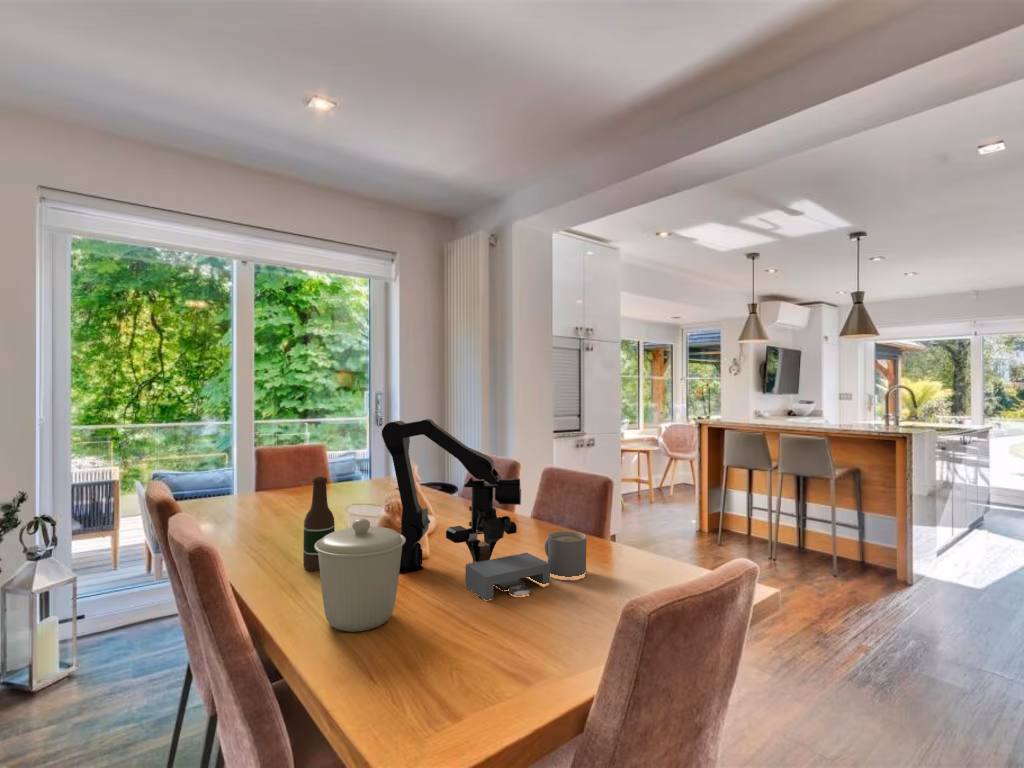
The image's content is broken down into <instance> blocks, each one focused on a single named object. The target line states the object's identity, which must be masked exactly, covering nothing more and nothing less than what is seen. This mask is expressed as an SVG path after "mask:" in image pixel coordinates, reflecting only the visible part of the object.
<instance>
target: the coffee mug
mask: <svg viewBox="0 0 1024 768" xmlns="http://www.w3.org/2000/svg"><path fill="white" fill-rule="evenodd" d="M544 552H545V554H546V557H547V562H548V563H550V573H551V574H554V575H558V576H565V577H572V576H579V575H582V574H584V573H585V572H586V573H587V535H585V533H582V532H578V531H573V530H557V531H552V532H549V534H548V535H547V537H546V539H545V541H544Z"/></svg>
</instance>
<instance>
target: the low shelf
mask: <svg viewBox="0 0 1024 768" xmlns="http://www.w3.org/2000/svg"><path fill="white" fill-rule="evenodd" d="M464 576H465V584H464V585H465V586H466V587H467V588H469V589H470V590H472V591H473V592H474V593H476V594H477V595H479V596H480V597H481V598H483V599H485V600H489V599H493V600H494V586H493V585H494V584H497V583H502V582H506V581H511V580H515V579H519V580H521V579H524V578H525V577H530V578H531V579H533V580H535V581H537V582H539V583H542V584H546V583H549V582H550V581H551V580H550V579H551V577H550V563H548V561H546V560H545V559H544V560H543V559H541V558H539V557H537V556H535V555H533V554H531V553H529V552H524V553H518V554H513V555H507V556H503V557H496V558H492V559H491V558H490V560H486V561H481V562H476V563H473V562H472V563H466V564H465V575H464ZM550 583H551V582H550ZM466 587H465V588H466ZM467 588H466V589H467ZM469 589H468V590H469ZM470 590H469V591H470ZM473 592H472V593H473ZM474 593H473V594H474ZM476 594H475V595H476ZM477 595H476V596H477ZM479 596H478V597H479ZM480 597H479V598H480ZM481 598H480V599H481ZM483 599H482V600H483Z"/></svg>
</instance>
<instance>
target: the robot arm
mask: <svg viewBox="0 0 1024 768" xmlns="http://www.w3.org/2000/svg"><path fill="white" fill-rule="evenodd" d="M422 435H423V436H425V437H426V438H428V439H429V440H430V441H432V442H433V443H435V444H436V445H438V446H439V447H441V448H442V449H443V450H445V451H446V452H447V453H449V454H450V455H452V456H453V457H454V458H456V459H457V460H458V461H459V462H460V463H461V464H462V466H463V467H464V468H465V470H466V471H468V473H469V474H470V475H471V477H470V478H469V479H468V481H466V482H465V483H464V485H463V487H464V488H471V506H468V507H469V509H468V510H469V511H470V512H471V515H470V516H471V518H470V519H471V520H470V521H469V522H468V528H465V527H464V526H461V525H454V526H450V527H447V529H446V531H445V538H446V539H447V540H449V541H451V542H452V543H454V544H460V543H465V544H466V546H467V547H468V548H467V549H468V550H469V552H470V555H471V557H472V561H473V560H474V563H476V562H478V544H479V543H480V541H481V540H480V539H478V535H483V540H484V542H486V543H488V544H490V559H491V557H492V555H493V552H494V549H495V546H496V545H497V542H498V541H500V540H501V539H503V538H504V536H505V535H504V534H507V535H512V534H516V533H517V532H518V531H517V529H518V528H517V527H518V526H517V523H516V522H515V521H513V520H511V518H510V516H508V515H506V516H505V515H504V516H502V517H501V516H499V517H498V516H497V511H496V510H497V509H496V508H495V507H494V499H495V501H496V502H497V503H498V504H499V505H512V506H513V505H517V506H518V505H519V506H520V505H521V504H522V489H521V478H519V477H517V478H516V477H515V478H502V477H501V475H500V474H499V472H498V471H497V470H496V469H495V463H494V462H495V461H494V459H493V458H492V457H490V456H488V455H487V454H485V453H482V452H481V451H479V450H475V449H473V448H471V447H468V446H467V445H466V444H464V443H463V442H462V441H460V440H459V439H457V438H456V437H454V436H453V435H452V434H450V433H449V432H448V431H446V430H445V429H443V428H442V427H441V426H439V425H438V424H436V423H435V421H434V420H432V419H431V418H426V419H422V420H420V421H419V420H418V421H412V422H405V421H402V420H395V421H391V422H390V421H389V422H388V423H386V424H385V425H384V426H383V428H382V429H381V437H382V440H383V443H384V445H385V447H386V449H387V451H388V452H389V455H390V456H391V457H392V463H393V467H394V473H395V477H396V483H397V487H398V493H399V497H400V502H401V507H402V512H401V518H400V519H401V520H400V524H401V525H400V527H401V530H400V531H401V533H400V534H401V535H403V536H404V537H405V539H406V541H405V544H404V545H403V546H402V553H401V562H400V570H399V574H402V573H409V572H413V571H420V570H423V569H424V566H423V549H422V544H421V543H419V542H420V541H421V539H422V538H423V537H424V536H425V534H426V533H427V532H428V530H429V525H430V523H431V520H430V519H429V514H428V513H429V511H428V508H424V509H423V508H422V506H421V505H420V503H419V500H418V493H417V490H416V489H417V488H416V484H415V480H414V475H413V474H414V473H413V469H412V463H411V459H410V454H409V450H410V444H411V443H410V442H411V441H410V437H411V438H412V437H417V436H422ZM469 527H470V528H469Z"/></svg>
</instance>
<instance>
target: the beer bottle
mask: <svg viewBox="0 0 1024 768" xmlns="http://www.w3.org/2000/svg"><path fill="white" fill-rule="evenodd" d="M311 482H312V483H313V487H312V497H311V498H312V500H311V505H310V509H309V510H308V512H306V515H305V518H304V520H303V550H302V551H303V553H302V554H303V556H302V557H303V559H302V561H303V569H305V570H306V571H307V570H308V571H307V572H314V571H319V572H320V567H319V556H318V552H317V551H316V550H315V547H314V546H315V543H316V542H317V541H318V540H320V539H322V538H323V537H324V536H326V535H327V534H330V533H332V532H335V531H336V530H335V528H336V527H335V526H336V525H335V516H334V514H333V512H332V511H331V510H330V508H329V506H328V495H327V493H328V492H327V482H328V479H327V477H325V476H317V477H313V478H312V481H311Z"/></svg>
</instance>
